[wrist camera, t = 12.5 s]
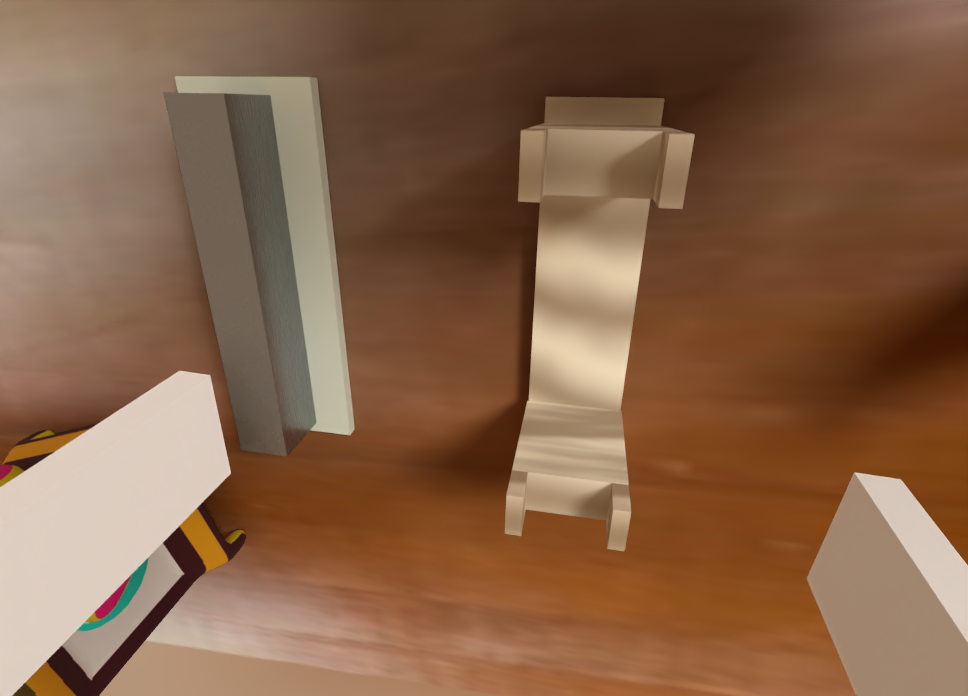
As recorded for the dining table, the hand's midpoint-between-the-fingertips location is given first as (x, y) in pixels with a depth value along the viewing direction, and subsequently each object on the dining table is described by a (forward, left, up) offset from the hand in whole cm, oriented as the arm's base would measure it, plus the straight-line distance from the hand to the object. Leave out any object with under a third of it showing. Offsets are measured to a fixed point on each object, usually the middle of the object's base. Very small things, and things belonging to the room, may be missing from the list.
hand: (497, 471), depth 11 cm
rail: (+6, -22, -27) cm, 35 cm away
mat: (+5, -22, -28) cm, 36 cm away
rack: (+5, +2, -28) cm, 29 cm away
